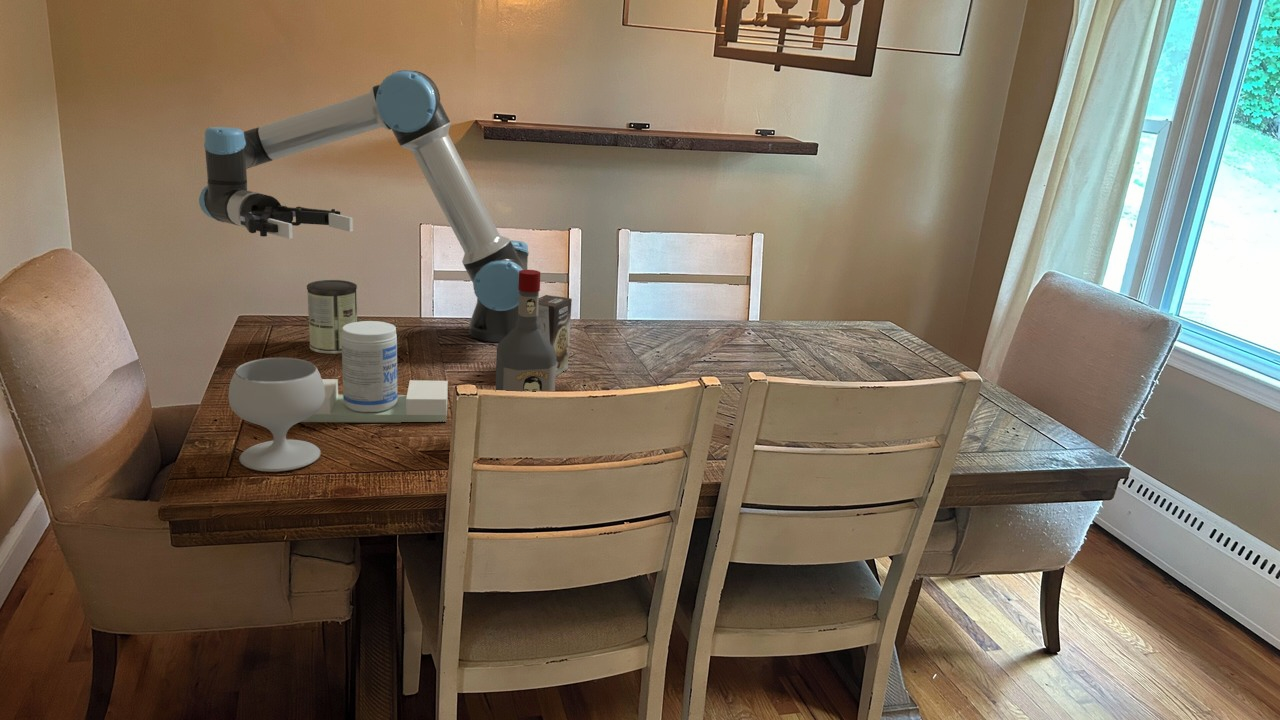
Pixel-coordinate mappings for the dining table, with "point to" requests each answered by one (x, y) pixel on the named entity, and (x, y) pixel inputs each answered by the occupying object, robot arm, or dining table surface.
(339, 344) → the coffee can
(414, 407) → the rail
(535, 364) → the liquor
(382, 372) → the supplement tub
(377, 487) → the dining table surface
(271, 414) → the chalice
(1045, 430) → the dining table surface
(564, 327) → the coffee box
